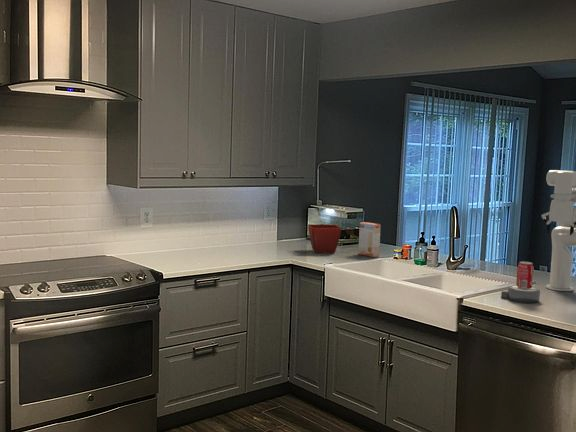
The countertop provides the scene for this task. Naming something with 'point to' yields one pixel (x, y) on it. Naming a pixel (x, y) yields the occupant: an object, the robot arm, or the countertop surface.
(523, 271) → the soda can
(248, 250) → the countertop surface
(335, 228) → the plant pot
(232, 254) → the countertop surface
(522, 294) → the motor housing
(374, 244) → the cracker box
